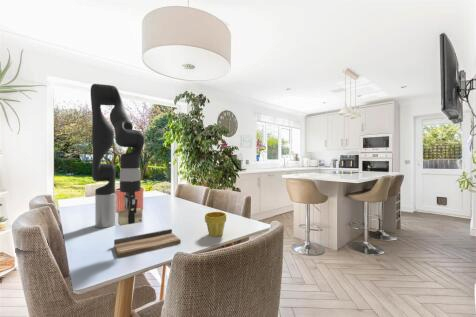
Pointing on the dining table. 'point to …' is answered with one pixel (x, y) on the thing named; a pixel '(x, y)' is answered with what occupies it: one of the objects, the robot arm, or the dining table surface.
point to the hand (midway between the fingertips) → (130, 221)
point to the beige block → (124, 216)
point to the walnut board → (145, 242)
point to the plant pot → (215, 223)
